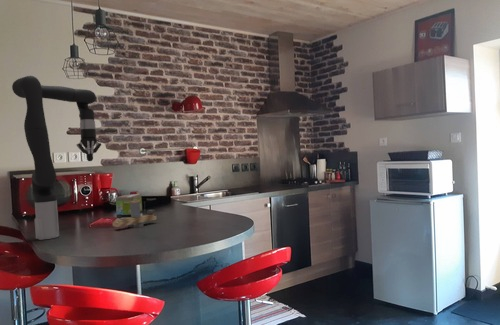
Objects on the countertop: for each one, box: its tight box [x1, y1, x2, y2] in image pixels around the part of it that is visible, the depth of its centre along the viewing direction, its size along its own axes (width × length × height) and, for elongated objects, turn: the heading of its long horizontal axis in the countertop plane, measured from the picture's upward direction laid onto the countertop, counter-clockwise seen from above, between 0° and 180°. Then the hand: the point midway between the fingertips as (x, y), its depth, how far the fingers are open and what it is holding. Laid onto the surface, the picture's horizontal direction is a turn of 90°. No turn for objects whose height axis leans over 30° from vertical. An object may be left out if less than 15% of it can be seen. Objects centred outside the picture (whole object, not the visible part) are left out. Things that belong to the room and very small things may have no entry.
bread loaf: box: [112, 209, 157, 229], centre depth 200 cm, size 22×7×7 cm, turn 136°
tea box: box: [115, 193, 143, 220], centre depth 218 cm, size 15×10×15 cm
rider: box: [130, 201, 141, 218], centre depth 201 cm, size 3×4×9 cm
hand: (90, 161), depth 208 cm, fingers closed
